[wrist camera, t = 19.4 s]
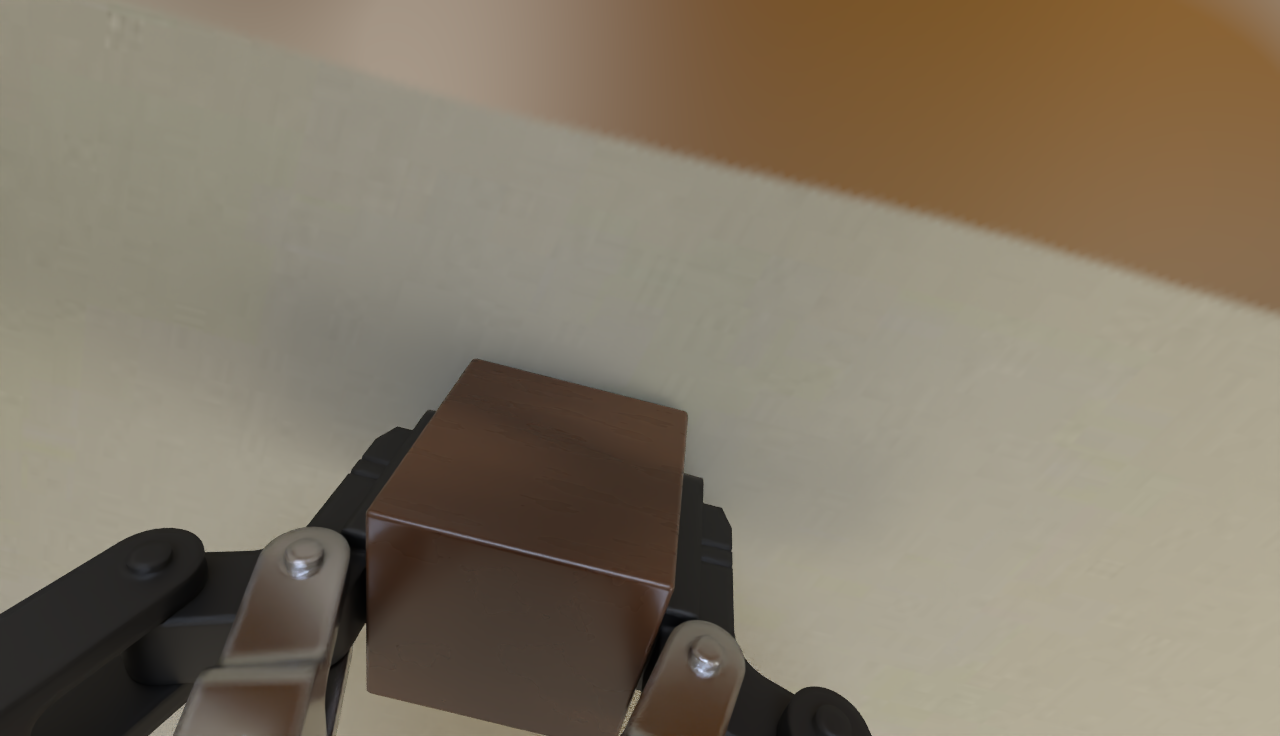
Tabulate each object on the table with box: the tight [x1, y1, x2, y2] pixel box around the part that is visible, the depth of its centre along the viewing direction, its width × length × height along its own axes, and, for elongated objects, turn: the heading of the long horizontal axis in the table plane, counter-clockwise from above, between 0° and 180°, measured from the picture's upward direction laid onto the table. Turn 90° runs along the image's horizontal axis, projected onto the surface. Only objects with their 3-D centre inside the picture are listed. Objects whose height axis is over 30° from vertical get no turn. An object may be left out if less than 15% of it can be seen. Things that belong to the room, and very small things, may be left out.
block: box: [366, 359, 688, 736], centre depth 12 cm, size 4×4×4 cm
